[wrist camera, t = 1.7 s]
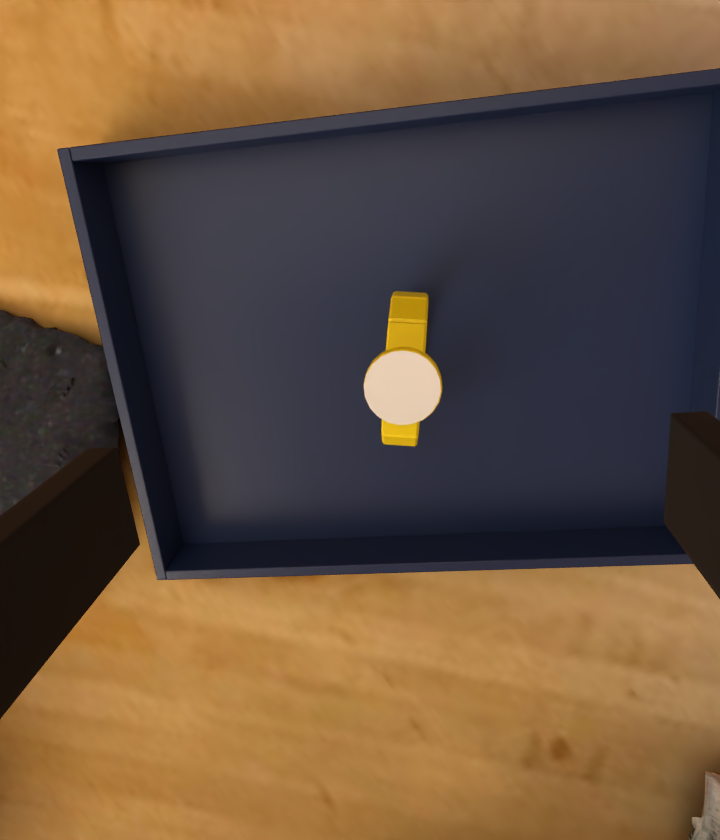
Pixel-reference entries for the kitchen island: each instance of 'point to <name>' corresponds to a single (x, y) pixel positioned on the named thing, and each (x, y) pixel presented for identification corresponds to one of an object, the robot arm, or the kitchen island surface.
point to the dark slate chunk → (49, 404)
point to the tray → (446, 327)
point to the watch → (404, 372)
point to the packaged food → (708, 811)
